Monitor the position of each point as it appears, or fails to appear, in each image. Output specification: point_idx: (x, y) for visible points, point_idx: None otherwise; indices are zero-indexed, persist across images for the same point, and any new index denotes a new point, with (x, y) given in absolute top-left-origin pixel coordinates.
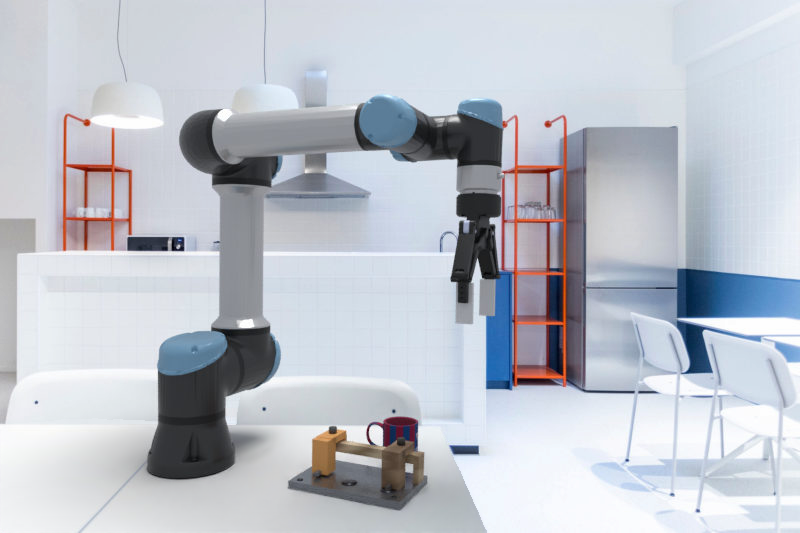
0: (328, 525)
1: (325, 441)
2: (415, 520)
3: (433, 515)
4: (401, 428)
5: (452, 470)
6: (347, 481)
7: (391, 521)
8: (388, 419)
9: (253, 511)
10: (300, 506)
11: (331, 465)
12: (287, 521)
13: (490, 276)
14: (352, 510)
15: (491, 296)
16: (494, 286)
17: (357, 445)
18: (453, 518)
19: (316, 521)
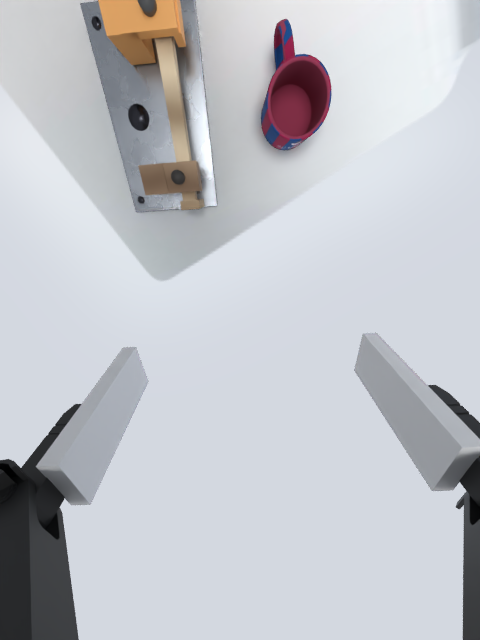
0: (61, 158)
1: (105, 28)
2: (132, 235)
3: (152, 246)
4: (269, 121)
5: (266, 215)
6: (139, 112)
7: (115, 216)
8: (306, 61)
9: (3, 24)
10: (64, 86)
11: (139, 58)
12: (28, 102)
13: (477, 494)
14: (104, 162)
15: (388, 413)
16: (411, 458)
17: (164, 88)
18: (158, 264)
19: (56, 138)
